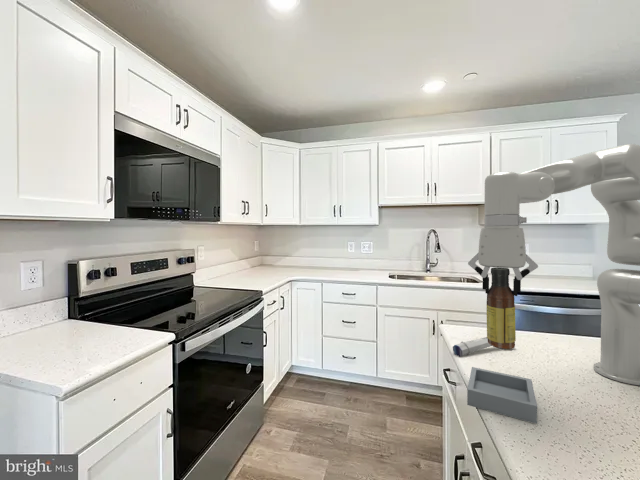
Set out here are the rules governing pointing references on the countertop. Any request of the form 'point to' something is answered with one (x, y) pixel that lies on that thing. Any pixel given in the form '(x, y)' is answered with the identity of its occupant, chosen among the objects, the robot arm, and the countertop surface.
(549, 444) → the countertop surface
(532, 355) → the countertop surface
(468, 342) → the electric cleaning brush
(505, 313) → the sauce bottle
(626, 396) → the countertop surface
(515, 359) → the countertop surface
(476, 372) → the dock
